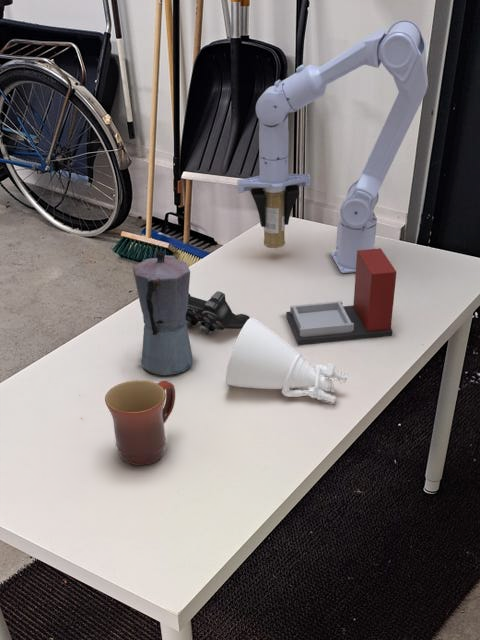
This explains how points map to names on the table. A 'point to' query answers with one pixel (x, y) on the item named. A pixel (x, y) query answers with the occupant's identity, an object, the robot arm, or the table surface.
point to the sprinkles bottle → (274, 217)
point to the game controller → (213, 314)
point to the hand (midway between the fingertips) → (274, 224)
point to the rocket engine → (276, 365)
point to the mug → (140, 418)
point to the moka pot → (164, 313)
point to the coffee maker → (351, 321)
